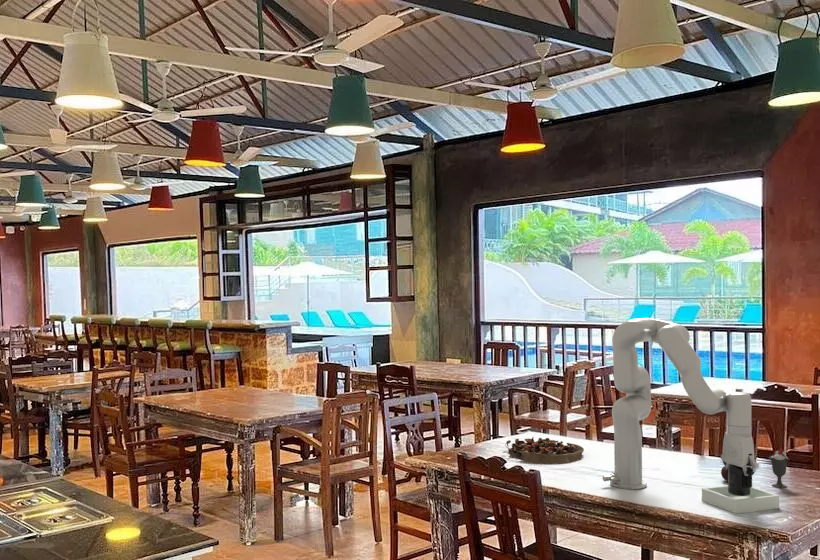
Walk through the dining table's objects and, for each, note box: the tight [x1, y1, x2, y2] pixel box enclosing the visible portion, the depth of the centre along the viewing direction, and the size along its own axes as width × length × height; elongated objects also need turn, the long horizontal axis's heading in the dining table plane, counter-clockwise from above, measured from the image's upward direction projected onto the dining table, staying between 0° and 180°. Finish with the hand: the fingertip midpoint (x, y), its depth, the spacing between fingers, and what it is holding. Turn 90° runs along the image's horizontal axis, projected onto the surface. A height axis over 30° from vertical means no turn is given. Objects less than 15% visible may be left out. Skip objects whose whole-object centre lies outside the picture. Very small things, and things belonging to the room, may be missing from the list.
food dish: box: [504, 436, 585, 465], centre depth 333 cm, size 35×33×8 cm
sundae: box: [768, 445, 790, 489], centre depth 280 cm, size 7×7×15 cm
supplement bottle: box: [727, 465, 750, 496], centre depth 258 cm, size 7×7×12 cm
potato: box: [720, 465, 726, 481], centre depth 286 cm, size 7×10×6 cm
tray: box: [701, 484, 780, 514], centre depth 258 cm, size 17×16×4 cm
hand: (739, 484), depth 258 cm, fingers closed on supplement bottle, 6 cm apart
